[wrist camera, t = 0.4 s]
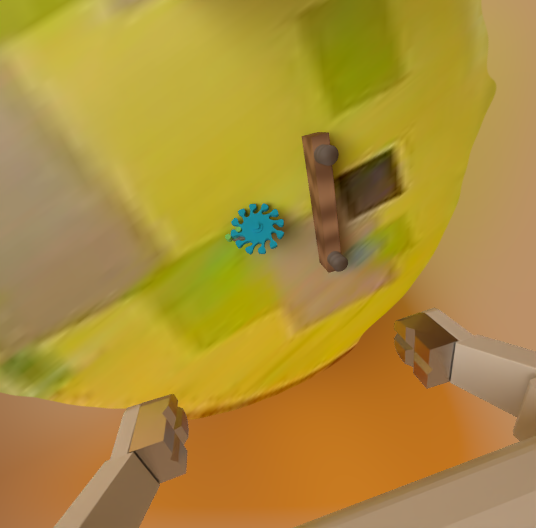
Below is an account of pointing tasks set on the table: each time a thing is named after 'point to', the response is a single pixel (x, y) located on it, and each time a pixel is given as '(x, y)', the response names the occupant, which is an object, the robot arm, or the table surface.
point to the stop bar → (324, 198)
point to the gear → (256, 229)
